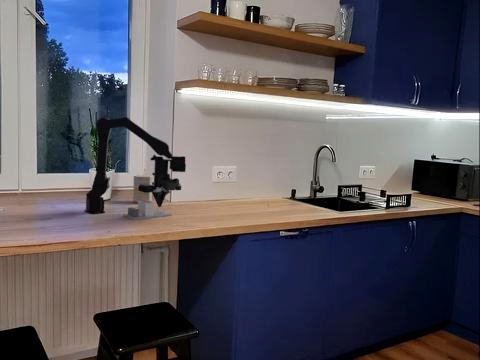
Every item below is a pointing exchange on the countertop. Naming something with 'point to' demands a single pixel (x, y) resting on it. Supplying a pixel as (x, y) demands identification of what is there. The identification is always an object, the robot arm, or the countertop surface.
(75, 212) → the countertop surface
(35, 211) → the countertop surface
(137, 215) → the rail board
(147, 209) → the module
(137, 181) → the supplement box
